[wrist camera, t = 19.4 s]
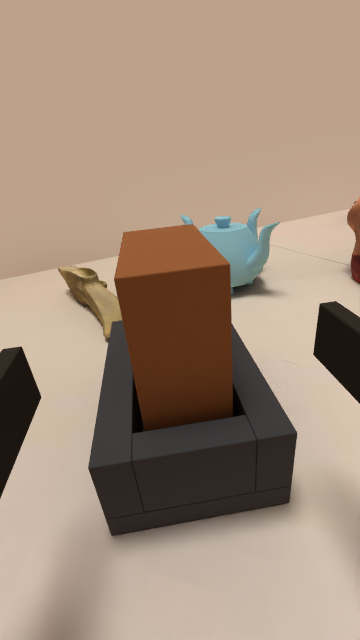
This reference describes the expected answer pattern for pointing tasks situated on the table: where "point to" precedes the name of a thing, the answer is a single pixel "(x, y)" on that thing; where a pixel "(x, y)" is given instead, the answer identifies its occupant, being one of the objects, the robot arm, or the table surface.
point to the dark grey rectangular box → (188, 450)
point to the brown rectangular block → (177, 325)
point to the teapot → (239, 246)
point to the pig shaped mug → (356, 218)
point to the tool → (93, 294)
